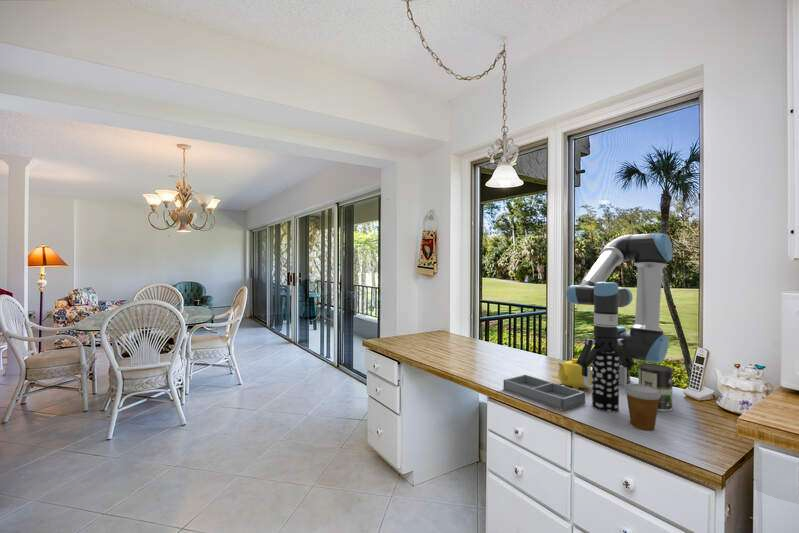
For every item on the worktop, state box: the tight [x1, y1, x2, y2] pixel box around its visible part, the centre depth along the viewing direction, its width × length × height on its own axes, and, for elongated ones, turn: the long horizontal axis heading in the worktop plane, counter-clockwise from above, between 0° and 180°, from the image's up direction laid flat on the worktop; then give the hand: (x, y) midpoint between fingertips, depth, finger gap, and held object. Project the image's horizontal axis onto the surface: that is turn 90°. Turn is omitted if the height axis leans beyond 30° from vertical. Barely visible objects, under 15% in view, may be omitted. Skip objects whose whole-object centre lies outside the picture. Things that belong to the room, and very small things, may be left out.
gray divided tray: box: [503, 374, 586, 411], centre depth 145 cm, size 26×14×4 cm, turn 34°
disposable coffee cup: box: [624, 383, 661, 431], centre depth 118 cm, size 10×10×12 cm
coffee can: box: [637, 363, 674, 412], centre depth 135 cm, size 10×10×14 cm
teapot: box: [557, 358, 592, 391], centre depth 156 cm, size 20×15×12 cm
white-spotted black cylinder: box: [591, 351, 620, 413], centre depth 134 cm, size 8×8×20 cm
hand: (605, 385), depth 134 cm, fingers open, 13 cm apart
